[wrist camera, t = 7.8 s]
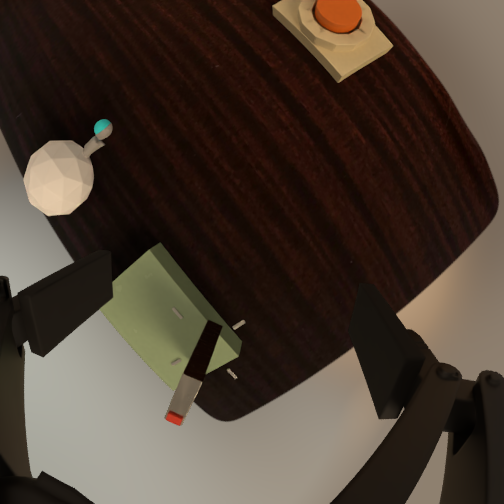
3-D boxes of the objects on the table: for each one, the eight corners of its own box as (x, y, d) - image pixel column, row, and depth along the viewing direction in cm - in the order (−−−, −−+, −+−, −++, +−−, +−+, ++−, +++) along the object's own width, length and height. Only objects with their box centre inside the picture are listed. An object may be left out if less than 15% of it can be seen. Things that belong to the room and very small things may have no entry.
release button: (366, 22, 20) (371, 14, 18) (335, 39, 21) (338, 32, 19) (337, -6, 19) (340, -15, 18) (305, 10, 20) (307, 1, 19)
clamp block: (275, 341, 33) (275, 357, 30) (191, 387, 36) (184, 403, 33) (181, 224, 30) (171, 230, 27) (105, 290, 33) (91, 301, 30)
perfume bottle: (20, 173, 26) (82, 90, 25) (69, 209, 32) (132, 135, 31) (1, 202, 21) (73, 98, 19) (63, 244, 26) (137, 154, 25)
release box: (386, 52, 24) (399, 39, 20) (337, 83, 25) (346, 70, 21) (323, -12, 22) (327, -31, 18) (272, 15, 24) (271, -4, 20)
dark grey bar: (208, 319, 29) (181, 375, 20) (223, 325, 29) (201, 384, 20) (189, 361, 31) (163, 420, 22) (203, 367, 31) (180, 427, 22)
